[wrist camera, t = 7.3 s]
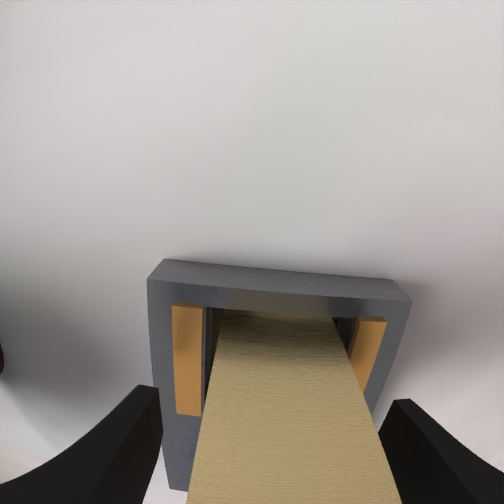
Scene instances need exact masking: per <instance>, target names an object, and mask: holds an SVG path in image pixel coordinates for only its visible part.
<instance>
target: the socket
mask: <svg viewBox="0 0 504 504" xmlns="http://www.w3.org/2000/svg"><path fill="white" fill-rule="evenodd" d="M147 298H148V319H149V335H150V349H151V361H152V372H153V381H154V387H156V388H159V397H160V406H161V414H162V422H163V430H164V432H163V437H162V442H161V443H162V449H163V455H164V461H165V467H166V472H167V477H168V482H169V488H170V489H174V490H179V491H186V492H188V491H189V485H190V480H191V474H192V469H193V464H194V458H195V453H196V448H197V443H198V437H199V432H200V427H201V422H202V417H203V412H204V407H205V401H206V396H207V391H208V386H209V381H210V366H211V338H212V315H213V307H214V308H223V309H234V310H244V311H255V312H267V313H279V314H292V315H307V316H322V317H338V318H337V323H336V329H337V331H338V334H339V336H340V338H341V341H342V343H343V346H344V348H345V351H346V353H347V355H348V358H349V360H350V363H351V365H352V368H353V370H354V373H355V375H356V378H357V380H358V383H359V386H360V388H361V391H362V393H363V396H364V398H365V401H366V404H367V406H368V409H369V412H370V414H372V412H373V410H374V407H375V405H376V403H377V400H378V398H379V395H380V393H381V391H382V388H383V386H384V383H385V381H386V378H387V376H388V373H389V370H390V368H391V365H392V362H393V360H394V357H395V354H396V351H397V348H398V345H399V342H400V340H401V337H402V334H403V330H404V327H405V324H406V321H407V318H408V315H409V311H410V308H411V304H412V300H411V299H410V298H409V297H408V296H407V295H406V294H405V293H404V292H403V291H402V289H401V288H400V287H399V286H398V285H397V284H396V283H395V282H394V281H393V280H387V279H374V278H362V277H349V276H337V275H326V274H314V273H302V272H291V271H280V270H269V269H258V268H247V267H237V266H226V265H216V264H206V263H196V262H186V261H176V260H166V259H163V260H162V261H161V262H160V264H159V265H158V266H157V267H156V268H155V270H154V271H153V272H152V273H151V274H150V276H149V277H148V278H147Z"/></svg>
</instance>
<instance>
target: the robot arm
mask: <svg viewBox="0 0 504 504" xmlns="http://www.w3.org/2000/svg"><path fill="white" fill-rule="evenodd" d="M163 432H164V430H163V422H162V414H161V406H160V397H159V388H156V387H150V386H145V385H140V384H139V385H138V386H136V387H135V388H134V389H133V390H132V391H131V392H130V393H129V394H128V395H127V396H126V397H125V398H124V399H123V401H122V402H120V403H119V404H118V405H117V406H116V407H115V408H114V409H113V410H112V411H111V412H110V413H109V414H108V415H107V416H106V417H105V418H104V419H103V420H101V421H100V422H99V423H98V424H97V425H96V426H95V427H94V428H93V429H91V430H90V431H89V432H88V433H87V434H85V435H84V436H83V437H82V438H80V439H79V440H78V441H76V442H75V443H74V444H73V445H71V446H70V447H69V448H67V449H66V450H64V451H63V452H62V453H60V454H59V455H57V456H56V457H54V458H52V459H51V460H49V461H48V462H46V463H44V464H43V465H41V466H39V467H37V468H35V469H33V470H32V471H30V472H28V473H26V474H24V475H22V476H20V477H17V478H15V479H13V480H10V481H8V482H5V483H2V484H0V504H142V502H143V500H144V497H145V494H146V491H147V488H148V485H149V483H150V480H151V477H152V474H153V471H154V468H155V466H156V463H157V460H158V456H159V451H160V447H161V442H162V437H163ZM378 436H379V438H380V441H381V444H382V447H383V449H384V452H385V455H386V458H387V461H388V464H389V466H390V469H391V472H392V475H393V478H394V481H395V484H396V487H397V490H398V493H399V496H400V499H401V502H402V504H504V473H503V472H502V471H500V470H498V469H497V468H495V467H493V466H492V465H490V464H489V463H487V462H485V461H484V460H483V459H481V458H480V457H478V456H477V455H476V454H474V453H473V452H472V451H470V450H469V449H468V448H466V447H465V446H464V445H463V444H461V443H460V442H459V441H458V440H457V439H455V438H454V437H453V436H452V435H451V434H450V433H448V432H447V431H446V430H445V429H444V428H443V427H442V426H441V425H439V424H438V423H437V422H436V421H435V420H434V419H433V418H432V417H431V416H429V415H428V414H427V413H426V412H425V411H424V410H423V409H422V408H421V407H419V406H418V405H417V404H416V403H415V402H413V401H412V400H411V399H398V400H393V403H392V405H391V407H390V409H389V411H388V413H387V416H386V418H385V420H384V422H383V424H382V426H381V428H380V430H379V432H378Z"/></svg>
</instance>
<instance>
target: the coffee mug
mask: <svg viewBox="0 0 504 504" xmlns="http://www.w3.org/2000/svg"><path fill="white" fill-rule="evenodd" d="M3 368H4V357H3V352H2V348H1V345H0V374H1V373H2V371H3Z"/></svg>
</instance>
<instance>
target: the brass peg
mask: <svg viewBox="0 0 504 504" xmlns="http://www.w3.org/2000/svg"><path fill="white" fill-rule="evenodd" d="M186 504H402V502H401V499H400V496H399V493H398V490H397V487H396V484H395V481H394V478H393V475H392V472H391V469H390V466H389V464H388V461H387V458H386V455H385V452H384V449H383V447H382V444H381V441H380V438H379V436H378V433H377V430H376V428H375V425H374V422H373V419H372V417H371V414H370V412H369V409H368V406H367V404H366V401H365V398H364V396H363V393H362V391H361V388H360V386H359V383H358V380H357V378H356V375H355V373H354V370H353V368H352V365H351V363H350V360H349V358H348V355H347V353H346V351H345V348H344V346H343V343H342V341H341V338H340V336H339V334H338V331H337V329H336V326H335V324H334V322H333V319H332V317H322V316H307V315H292V314H279V313H267V312H255V311H244V310H234V309H224V313H223V317H222V322H221V327H220V332H219V337H218V342H217V347H216V352H215V356H214V361H213V366H212V371H211V376H210V381H209V386H208V391H207V396H206V401H205V407H204V412H203V417H202V422H201V427H200V432H199V437H198V443H197V448H196V453H195V458H194V464H193V469H192V474H191V480H190V485H189V491H188V496H187V502H186Z"/></svg>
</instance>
